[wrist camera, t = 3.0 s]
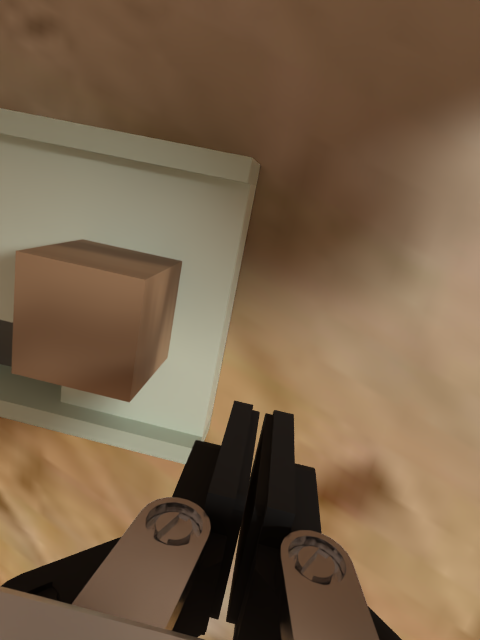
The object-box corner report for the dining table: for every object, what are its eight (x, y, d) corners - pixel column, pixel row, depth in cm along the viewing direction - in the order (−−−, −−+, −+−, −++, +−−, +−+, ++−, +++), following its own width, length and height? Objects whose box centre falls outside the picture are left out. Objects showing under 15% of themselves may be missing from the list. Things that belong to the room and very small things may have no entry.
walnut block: (82, 239, 20) (15, 250, 16) (182, 260, 20) (145, 279, 15) (74, 335, 22) (11, 373, 17) (167, 357, 21) (129, 402, 17)
